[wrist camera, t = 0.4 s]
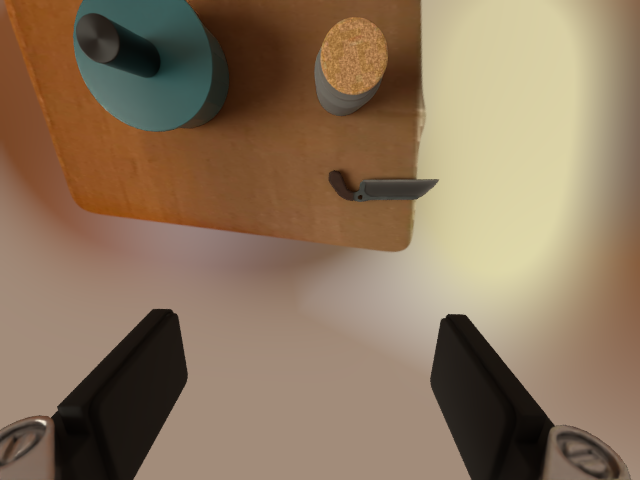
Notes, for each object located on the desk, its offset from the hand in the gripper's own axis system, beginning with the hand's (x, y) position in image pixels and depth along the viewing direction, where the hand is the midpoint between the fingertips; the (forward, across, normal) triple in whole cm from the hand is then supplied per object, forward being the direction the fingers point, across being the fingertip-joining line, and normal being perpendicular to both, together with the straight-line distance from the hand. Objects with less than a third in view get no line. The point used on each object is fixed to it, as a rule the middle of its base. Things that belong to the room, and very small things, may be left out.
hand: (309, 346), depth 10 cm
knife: (+30, -8, -1) cm, 31 cm away
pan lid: (+23, +16, -14) cm, 32 cm away
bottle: (+30, -2, -12) cm, 33 cm away
